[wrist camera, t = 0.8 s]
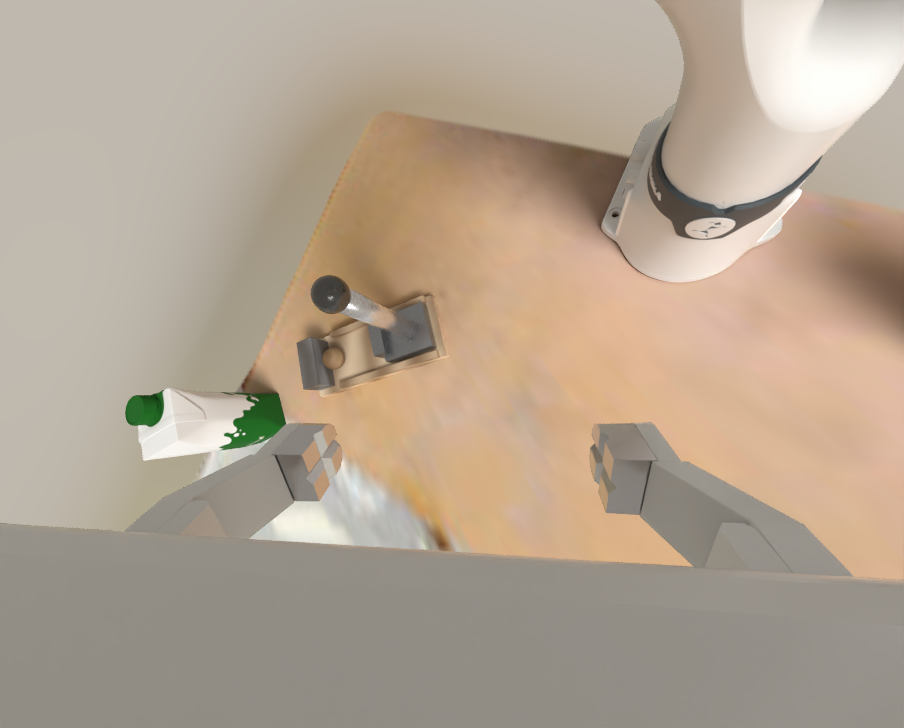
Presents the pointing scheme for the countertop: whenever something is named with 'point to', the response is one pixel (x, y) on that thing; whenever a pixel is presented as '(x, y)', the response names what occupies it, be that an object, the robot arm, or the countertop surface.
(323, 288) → the ball-top joystick lever
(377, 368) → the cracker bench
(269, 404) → the milk carton
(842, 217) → the countertop surface
